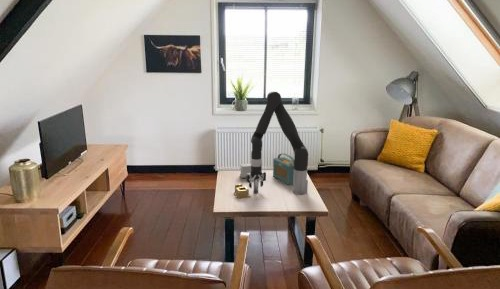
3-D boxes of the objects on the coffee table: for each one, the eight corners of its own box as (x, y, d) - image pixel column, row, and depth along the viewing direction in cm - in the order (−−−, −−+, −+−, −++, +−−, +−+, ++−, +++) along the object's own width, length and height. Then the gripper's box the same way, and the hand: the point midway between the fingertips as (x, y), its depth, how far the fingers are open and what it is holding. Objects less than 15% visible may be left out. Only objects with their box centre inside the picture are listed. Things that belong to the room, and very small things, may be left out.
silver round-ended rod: (257, 191, 261) (257, 177, 259) (259, 192, 258) (259, 179, 256) (252, 191, 260) (252, 178, 258) (254, 193, 257) (254, 179, 255)
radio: (272, 175, 296) (272, 151, 291) (283, 174, 300) (284, 150, 295) (288, 185, 273) (289, 159, 268) (301, 183, 278) (302, 158, 273)
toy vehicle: (263, 177, 291) (263, 165, 289) (241, 179, 287) (241, 166, 285) (260, 174, 299) (261, 162, 297) (239, 175, 296) (239, 163, 293)
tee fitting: (244, 190, 262) (244, 183, 261) (250, 197, 250) (250, 190, 249) (232, 192, 259) (232, 185, 258) (238, 198, 247) (238, 191, 246)
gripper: (263, 162, 260) (263, 184, 264) (244, 164, 255) (244, 186, 259) (267, 165, 253) (267, 187, 257) (248, 167, 249) (248, 190, 252)
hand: (256, 187), depth 258 cm, fingers open, 7 cm apart
